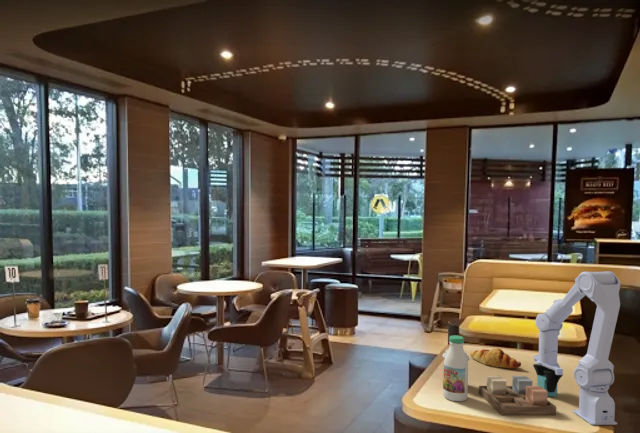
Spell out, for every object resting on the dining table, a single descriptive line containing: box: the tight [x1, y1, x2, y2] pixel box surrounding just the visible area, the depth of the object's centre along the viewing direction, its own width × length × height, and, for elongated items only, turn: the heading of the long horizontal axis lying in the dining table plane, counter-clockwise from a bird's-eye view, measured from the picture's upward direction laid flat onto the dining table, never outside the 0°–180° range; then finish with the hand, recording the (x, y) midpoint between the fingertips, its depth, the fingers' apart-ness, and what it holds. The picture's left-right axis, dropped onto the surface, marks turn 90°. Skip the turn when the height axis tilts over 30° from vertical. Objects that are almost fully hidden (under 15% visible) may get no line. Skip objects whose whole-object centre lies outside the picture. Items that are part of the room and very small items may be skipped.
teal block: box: [536, 374, 558, 397], centre depth 158 cm, size 4×4×6 cm
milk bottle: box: [442, 334, 469, 402], centre depth 153 cm, size 8×8×20 cm
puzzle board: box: [478, 375, 557, 416], centre depth 149 cm, size 17×17×6 cm
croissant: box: [469, 347, 522, 370], centre depth 188 cm, size 21×10×8 cm, turn 46°
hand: (546, 388), depth 158 cm, fingers closed on teal block, 4 cm apart
